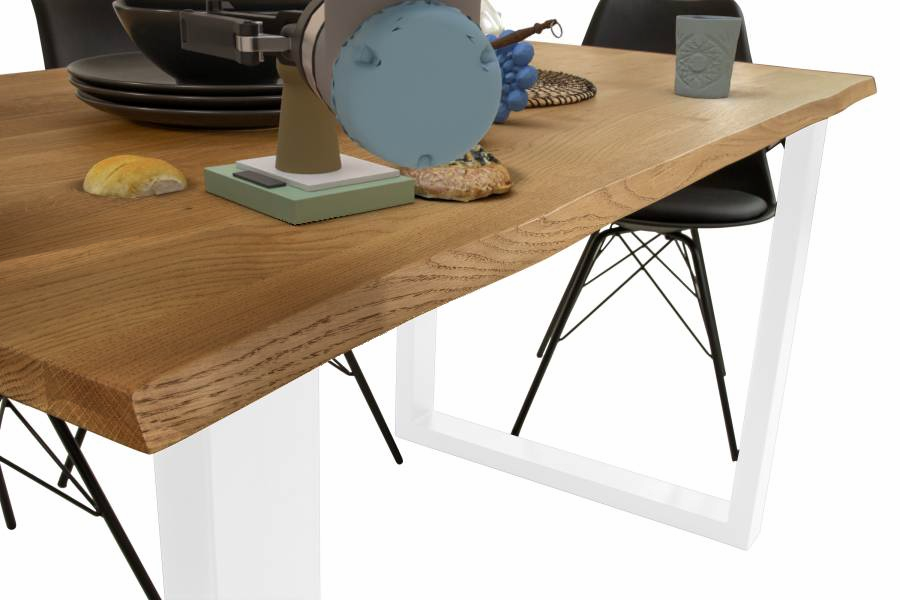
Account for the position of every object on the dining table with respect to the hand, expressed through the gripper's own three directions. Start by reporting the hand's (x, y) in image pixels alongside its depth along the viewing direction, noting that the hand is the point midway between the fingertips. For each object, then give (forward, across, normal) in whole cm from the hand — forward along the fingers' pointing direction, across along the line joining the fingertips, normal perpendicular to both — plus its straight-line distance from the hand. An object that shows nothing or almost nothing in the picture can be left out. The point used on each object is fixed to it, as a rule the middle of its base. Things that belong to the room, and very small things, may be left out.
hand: (314, 20), depth 78 cm
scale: (+10, +1, -17) cm, 20 cm away
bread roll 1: (+12, -14, -17) cm, 25 cm away
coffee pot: (+30, +22, -17) cm, 41 cm away
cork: (+10, +1, -14) cm, 17 cm away
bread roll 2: (+11, +15, -17) cm, 25 cm away
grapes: (+46, +31, -17) cm, 58 cm away
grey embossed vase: (+66, +71, -17) cm, 99 cm away
